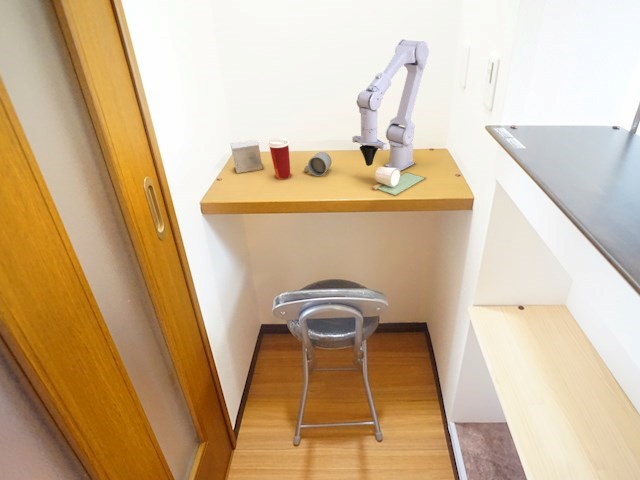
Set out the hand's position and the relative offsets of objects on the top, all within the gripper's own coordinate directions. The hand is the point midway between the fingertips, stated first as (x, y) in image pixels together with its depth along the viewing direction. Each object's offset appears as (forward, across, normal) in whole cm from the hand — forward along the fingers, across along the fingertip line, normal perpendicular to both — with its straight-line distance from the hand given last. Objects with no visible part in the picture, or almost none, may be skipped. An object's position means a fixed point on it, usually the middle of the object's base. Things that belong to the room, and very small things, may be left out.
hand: (369, 164), depth 147 cm
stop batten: (+6, +7, 0) cm, 9 cm away
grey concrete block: (+6, -45, -23) cm, 51 cm away
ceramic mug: (+6, -20, -8) cm, 22 cm away
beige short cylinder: (+2, +5, 0) cm, 6 cm away
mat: (+6, +12, +4) cm, 14 cm away
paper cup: (+6, -28, -19) cm, 34 cm away
